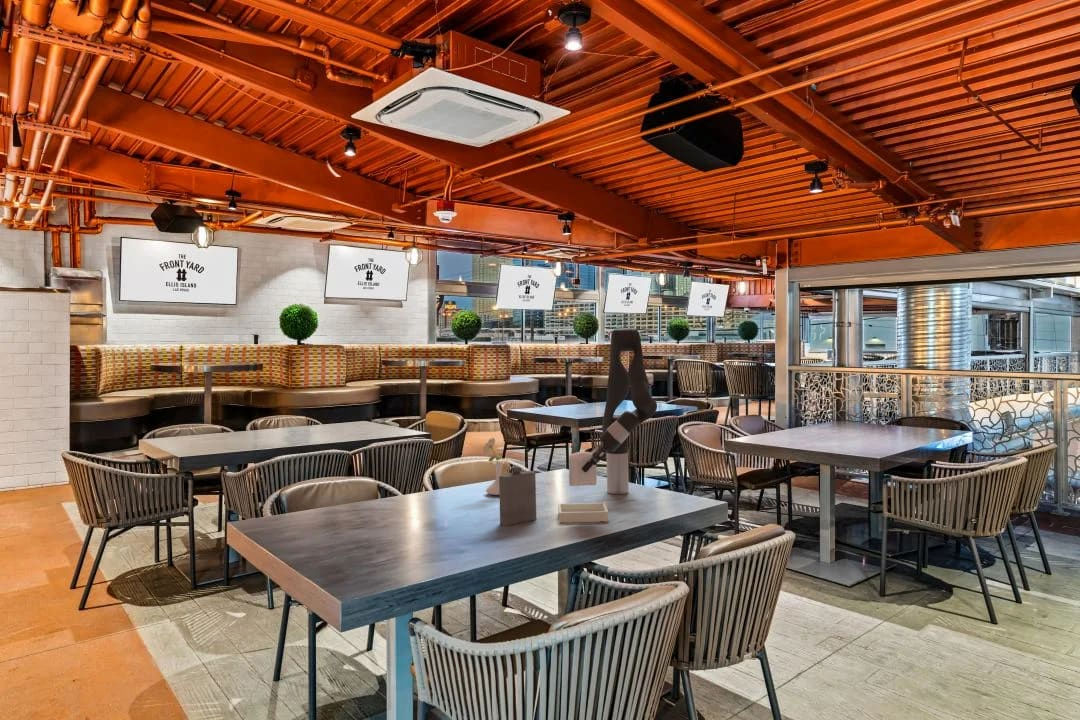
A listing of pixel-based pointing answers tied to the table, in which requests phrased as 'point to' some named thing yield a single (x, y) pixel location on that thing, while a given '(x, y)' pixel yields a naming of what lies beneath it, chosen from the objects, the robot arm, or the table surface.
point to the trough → (583, 512)
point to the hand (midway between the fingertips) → (582, 469)
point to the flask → (517, 496)
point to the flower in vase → (494, 487)
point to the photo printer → (577, 474)
